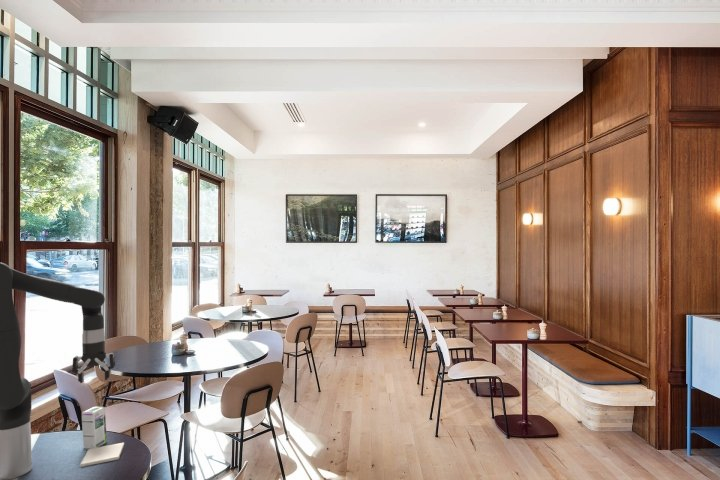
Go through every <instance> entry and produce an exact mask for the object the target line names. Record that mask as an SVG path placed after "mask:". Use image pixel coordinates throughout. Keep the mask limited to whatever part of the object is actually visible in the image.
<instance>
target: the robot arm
mask: <svg viewBox="0 0 720 480" xmlns="http://www.w3.org/2000/svg"><path fill="white" fill-rule="evenodd" d="M13 290H16V291H21V292H24V293H25V292H26V293H29V294H33V295H35V296H39V297H43V298H45V299H50V300H54V301H59V302H63V303H69V304H73V305H76V306H80V307H81V313H82V336H81V337H82V342H81V343H82V346H81V347H82V356H78V355H76V356H74V357H73V358H72V373H73V374H74V373H76V374H77V379H78V381H77V382H79V383H80V384H82V383H84V381H85V379H84V377H85V376H84V375H85V374H84V370H85V369H86V368H87V367H89V368H90V367H99V366H100V367H101V368H103V369H104V370H105V371H104V381H108V380H109V378H111V377H110V376H111V370H113V369H114V368H115V367H116V361H115V357H116V356H115V352H111V353H106V340H105V339H106V336H105V334H106V333H105V327H104V325H105V324H104V320H105V319H104V315H103V313H102V306H103V305H104V303H105V300H106V298H105V294H103V293H102V292H100V291H99V290H95V289H89V288H84V287H80V286H76V285H75V284H72V283H71V284H70V283H67V282H63V281H60V280H55V279H51V278H46V277H40V276H37V275H36V276H35V275H31V274H28V273H24V272H21V271H19V270H16V269H13V268H11V267H10V266H9V265H8V264H7V263H4V262H0V480H11V479H15V478H19V477H21V476H23V475H25V474H27V473H29V472H30V471H31V470H32V469H33V458H32V454H33V453H32V452H33V451H32V435H31V434H32V428H31V413H32V386H31V383H30V381H29V380H28V379H27V378H26V377H23V376H21V372H20V358H21V347H22V334H21V327H20V322H19V318H18V317H19V316H18V314H17V311H16V310H17V309H16V307H15V303H14V296H13ZM106 358H107V359H108V360H109V364H108V363H107V361H106V360H105V359H106ZM81 361H82V362H83V364H82V366H81V367H80V368H79V363H80V362H81Z"/></svg>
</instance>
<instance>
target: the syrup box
mask: <svg viewBox="0 0 720 480" xmlns="http://www.w3.org/2000/svg"><path fill="white" fill-rule="evenodd" d="M106 418H107V417H106V407H105V406H93V407H91V408H89V409H86V410H85V411H81V425H82V443H83V444H82V445H83V447H82V448H84V449H87V450H89V449H92V448H97V447H102V446H103V445H104V444H107V442H108V440H107V436H108V435H107V420H106Z"/></svg>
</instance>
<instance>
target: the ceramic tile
mask: <svg viewBox="0 0 720 480" xmlns="http://www.w3.org/2000/svg"><path fill="white" fill-rule="evenodd" d="M124 447H125V442H119V443H114V444H108V445H104V446H103V445H102V446H99V447H97V448H92V449H87V452H86V454H85V456H84V457H83V459H82V460H81V462H80V468H81V467H87V466H92V465H98V464H101V463H106V462H107V463H108V462H112V461H118V460H120V458H121V455H122V452H123V450H124Z"/></svg>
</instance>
